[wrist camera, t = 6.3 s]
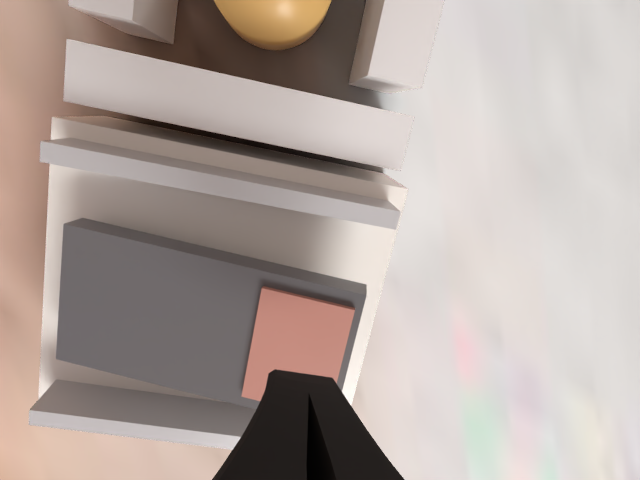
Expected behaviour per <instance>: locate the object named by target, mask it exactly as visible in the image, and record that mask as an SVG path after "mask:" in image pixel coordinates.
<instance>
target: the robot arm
mask: <svg viewBox="0 0 640 480" xmlns="http://www.w3.org/2000/svg"><path fill="white" fill-rule="evenodd" d="M212 480H404V479H403V477H402V476H401V475H400V474H399V472H398V471H397V470H396V469H395V467H394V466H393V465H392V464H391V462H390V461H389V460H388V458H387V457H386V456H385V454H384V453H383V452H382V450H381V449H380V448H379V446H378V445H377V443H376V442H375V441H374V439H373V438H372V436H371V435H370V434H369V432H368V431H367V429H366V428H365V426H364V425H363V423H362V422H361V420H360V419H359V417H358V416H357V414H356V413H355V411H354V410H353V408H352V407H351V405H350V404H349V402H348V400H347V399H346V397H345V396H344V394H343V393H342V391H341V390H340V388H339V387H338V385H337V384H336V382H335V381H334V379H333V378H332V377H325V376H318V375H311V374H304V373H298V372H291V371H284V370H277V369H275V370H273V371H271V372H270V373H268V378H267V383H266V388H265V391H264V394H263V396H262V399H261V401H260V403H259V405H258V407H257V409H256V411H255V413H254V415H253V417H252V419H251V420H250V422H249V424H248V426H247V428H246V430H245V431H244V433H243V435H242V436H241V438H240V439H239V441H238V443H237V444H236V446H235V447H234V449H233V450H232V452H231V453H230V455H229V456H228V458H227V459H226V461H225V462H224V464H223V465H222V467H221V468H220V470H219V471H218V472H217V474H216V475H215V476H214V478H213V479H212Z"/></svg>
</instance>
